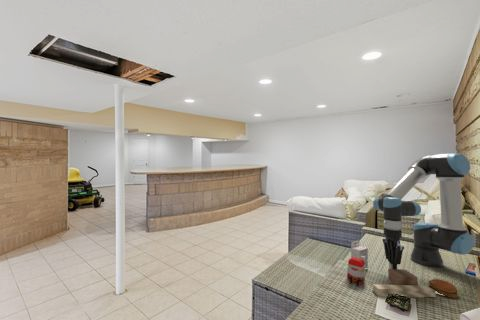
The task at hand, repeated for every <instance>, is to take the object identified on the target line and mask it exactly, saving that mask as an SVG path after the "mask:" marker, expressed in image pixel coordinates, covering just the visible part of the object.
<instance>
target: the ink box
mask: <svg viewBox="0 0 480 320" xmlns="http://www.w3.org/2000/svg"><path fill="white" fill-rule="evenodd" d="M350 246H351V247H350V259H351V258H352V257H354V258H358V259H361V256H365V257H366V260H365V261H364V262H365V268H369V267H368V266H369V264H368V263H369V261H368V260H369V256H368V254H369V253H368V249H369V248H368V247H365V246H362V245H360V239H358V240H353V241H351V245H350Z"/></svg>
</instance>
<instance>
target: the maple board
mask: <svg viewBox="0 0 480 320" xmlns="http://www.w3.org/2000/svg"><path fill="white" fill-rule="evenodd" d="M372 292H373V293H374V294H375V295H377V296H378V297H388V296H387V295H388V294H399V295H403V296H409V297H408V298H424V297H435V298H436V294H435V290H433V289H432V288H430V287H429V286H428V285H418V286H417V285H392V284H378V283H377V284H375V283H373V285H372Z"/></svg>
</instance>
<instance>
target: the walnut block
mask: <svg viewBox="0 0 480 320" xmlns="http://www.w3.org/2000/svg"><path fill="white" fill-rule="evenodd" d="M387 270H388V271H387V272H388V274H387V275H388V282H389V281H390V282H391V283H392V284H393V285H417V286H419V285H418V277H417V276H416V275H414V274H413V273H411V272H410V271H408V270H407V269H399V268H397V269H389V268H388V269H387ZM390 282H389V283H390ZM391 283H390V284H391ZM392 284H391V285H392Z"/></svg>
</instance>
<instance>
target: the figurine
mask: <svg viewBox="0 0 480 320" xmlns="http://www.w3.org/2000/svg"><path fill="white" fill-rule="evenodd" d="M365 260H366V257H365V256H361V259H358V258H354V257H352V258H351V257H350V258H349V259H348V263H347V266H348V267H347V273H346V274H347V275H346V278H347V280H348V281H349V284H356V286H358V287H359V286H362V285H363V284H364V283H365V281H366V277H365V276H366V275H367V274H366V273H367V272H366V271H367V270H366V269H365V262H364V261H365Z"/></svg>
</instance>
